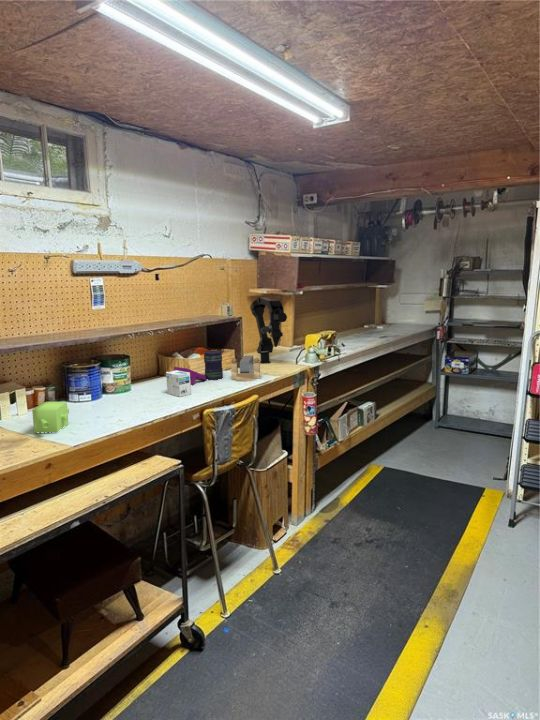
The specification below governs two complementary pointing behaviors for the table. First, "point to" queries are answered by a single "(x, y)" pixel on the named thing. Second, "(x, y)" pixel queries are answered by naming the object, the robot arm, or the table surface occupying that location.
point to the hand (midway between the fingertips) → (275, 346)
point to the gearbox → (50, 416)
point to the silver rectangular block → (247, 364)
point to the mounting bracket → (191, 374)
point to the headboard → (245, 376)
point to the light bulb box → (178, 383)
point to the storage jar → (213, 364)
